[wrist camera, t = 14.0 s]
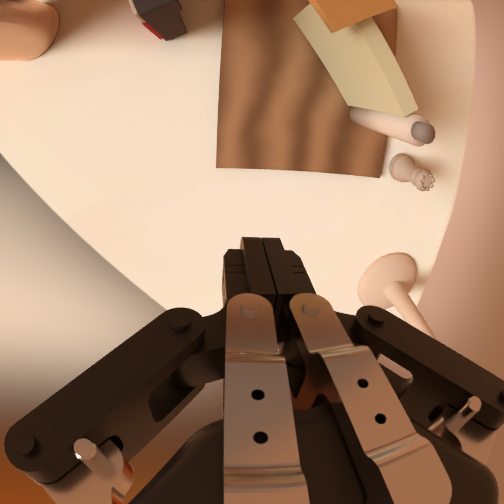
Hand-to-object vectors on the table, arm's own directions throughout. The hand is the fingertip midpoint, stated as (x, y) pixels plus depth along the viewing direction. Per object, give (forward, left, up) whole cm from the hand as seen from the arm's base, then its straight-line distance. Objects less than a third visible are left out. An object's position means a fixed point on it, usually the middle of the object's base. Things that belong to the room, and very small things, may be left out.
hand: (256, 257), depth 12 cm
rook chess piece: (+26, -2, -31) cm, 40 cm away
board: (+10, +10, -30) cm, 34 cm away
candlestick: (+30, -24, -31) cm, 49 cm away
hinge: (+13, +11, -29) cm, 34 cm away
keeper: (+8, +17, -30) cm, 36 cm away
